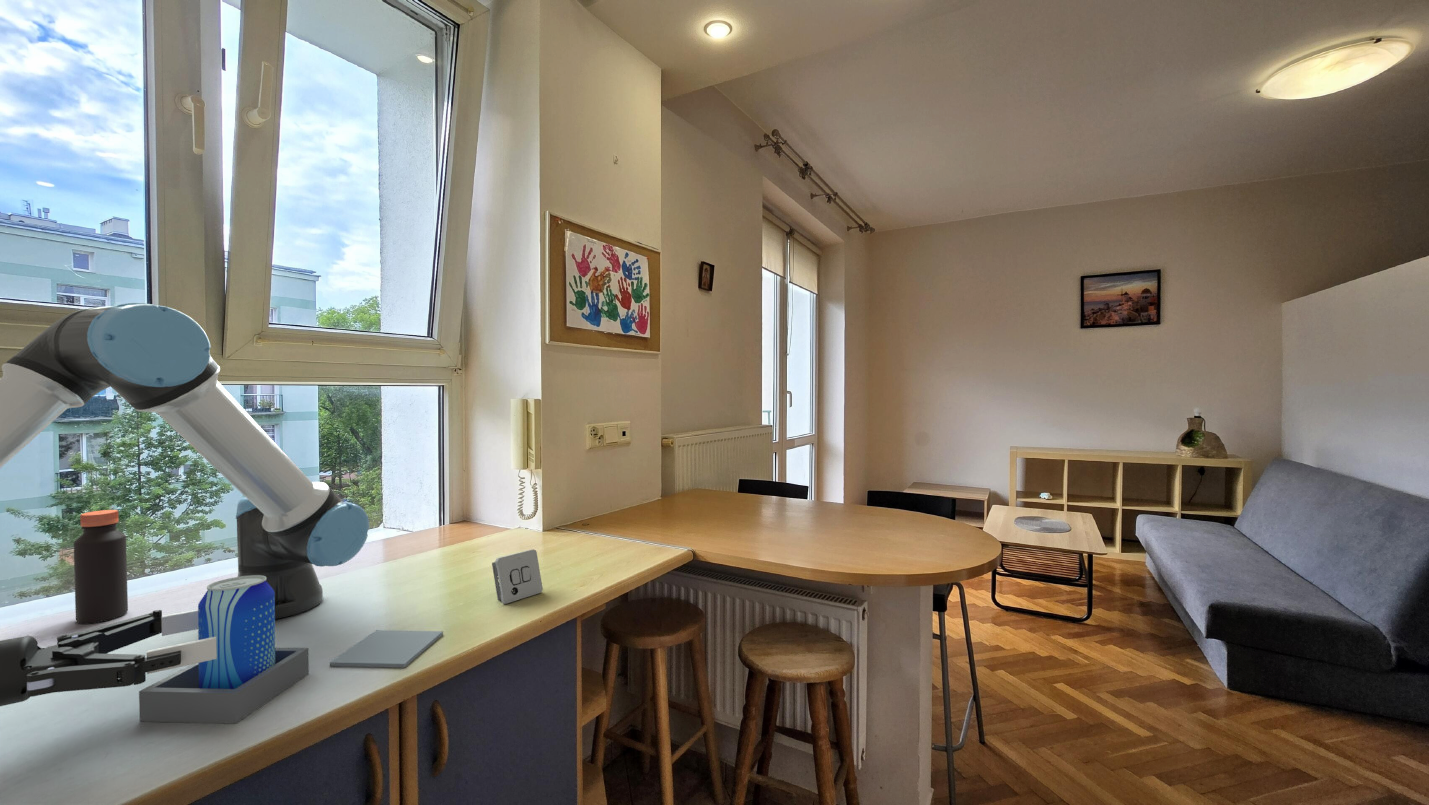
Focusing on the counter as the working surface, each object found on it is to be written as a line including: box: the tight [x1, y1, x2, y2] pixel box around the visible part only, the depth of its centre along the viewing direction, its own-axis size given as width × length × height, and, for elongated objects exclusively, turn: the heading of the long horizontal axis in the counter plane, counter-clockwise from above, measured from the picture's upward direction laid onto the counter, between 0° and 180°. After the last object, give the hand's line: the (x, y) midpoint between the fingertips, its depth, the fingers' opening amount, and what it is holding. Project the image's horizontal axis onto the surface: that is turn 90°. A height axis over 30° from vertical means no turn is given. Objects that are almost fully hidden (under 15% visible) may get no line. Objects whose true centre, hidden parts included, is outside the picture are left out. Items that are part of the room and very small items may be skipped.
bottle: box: [73, 509, 129, 625], centre depth 109 cm, size 7×7×20 cm
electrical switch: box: [491, 548, 544, 605], centre depth 122 cm, size 9×5×9 cm, turn 141°
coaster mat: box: [329, 629, 444, 668], centre depth 97 cm, size 12×12×1 cm
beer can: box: [197, 575, 276, 689], centre depth 82 cm, size 8×8×16 cm
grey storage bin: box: [138, 647, 310, 724], centre depth 82 cm, size 13×13×4 cm
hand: (219, 630), depth 81 cm, fingers open, 13 cm apart
